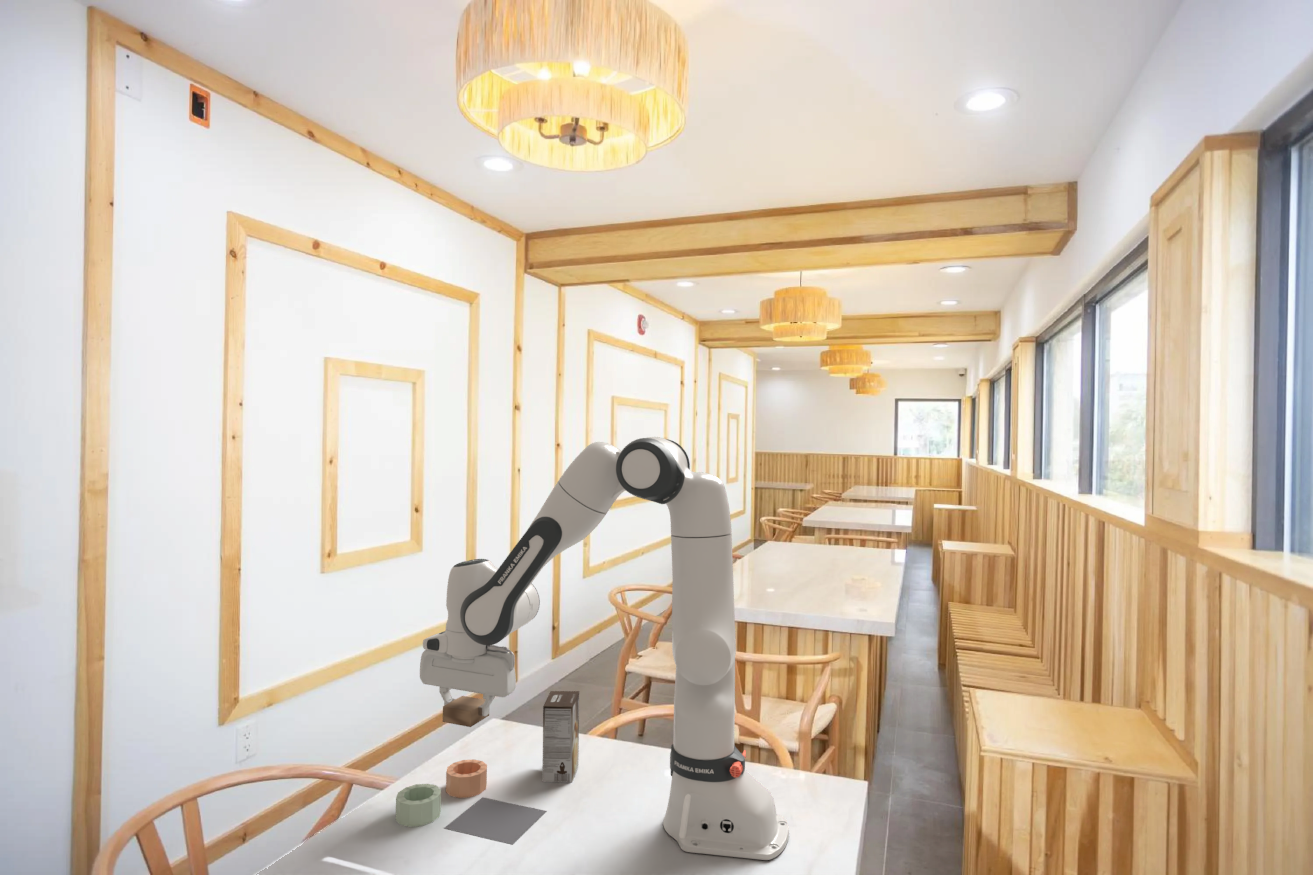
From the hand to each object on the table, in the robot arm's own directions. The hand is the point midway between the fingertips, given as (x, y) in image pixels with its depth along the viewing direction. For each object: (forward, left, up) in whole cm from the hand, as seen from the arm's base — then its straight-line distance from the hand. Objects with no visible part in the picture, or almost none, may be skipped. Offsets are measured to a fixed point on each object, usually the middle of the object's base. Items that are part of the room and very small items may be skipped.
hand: (466, 711), depth 143 cm
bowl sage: (+2, +12, -16) cm, 20 cm away
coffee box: (-14, -13, -16) cm, 25 cm away
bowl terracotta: (0, 0, -16) cm, 16 cm away
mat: (-12, +8, -16) cm, 21 cm away
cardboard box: (0, 0, -1) cm, 1 cm away
